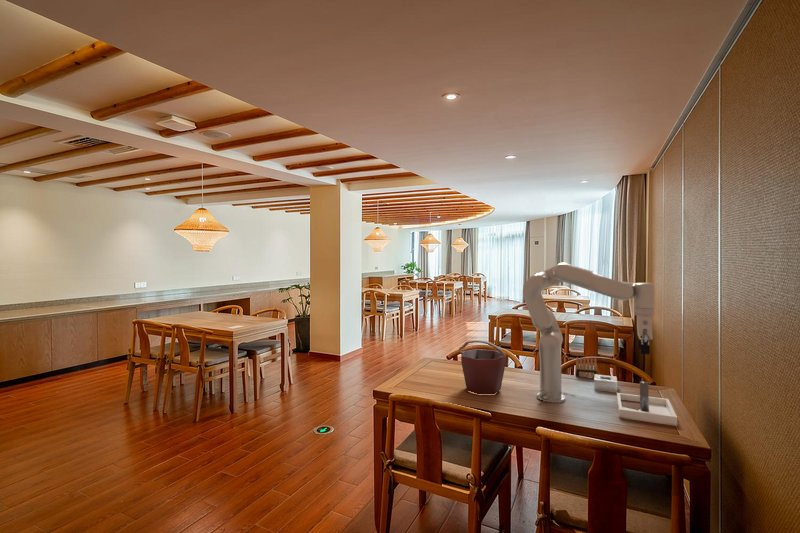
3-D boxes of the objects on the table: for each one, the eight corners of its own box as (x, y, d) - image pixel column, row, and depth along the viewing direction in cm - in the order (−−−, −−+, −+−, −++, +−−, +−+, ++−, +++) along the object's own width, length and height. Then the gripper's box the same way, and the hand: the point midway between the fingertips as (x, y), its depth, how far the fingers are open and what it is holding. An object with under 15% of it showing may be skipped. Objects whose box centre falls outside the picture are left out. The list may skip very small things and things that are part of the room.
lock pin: (647, 412, 167) (647, 384, 167) (639, 410, 169) (638, 382, 169) (649, 410, 169) (649, 382, 169) (641, 408, 171) (640, 380, 171)
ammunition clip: (575, 378, 217) (575, 356, 217) (575, 377, 219) (575, 355, 219) (597, 380, 213) (597, 358, 213) (597, 379, 215) (597, 357, 214)
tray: (677, 426, 155) (677, 417, 155) (619, 417, 164) (619, 409, 164) (668, 406, 174) (668, 398, 174) (616, 400, 183) (616, 392, 183)
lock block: (617, 394, 191) (617, 382, 191) (594, 391, 195) (594, 379, 195) (616, 388, 200) (616, 376, 200) (594, 385, 204) (594, 374, 204)
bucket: (450, 389, 203) (449, 341, 202) (477, 380, 217) (476, 335, 217) (489, 401, 184) (489, 348, 184) (516, 390, 199) (515, 341, 198)
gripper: (656, 314, 159) (656, 357, 159) (651, 309, 174) (651, 348, 175) (635, 314, 162) (635, 355, 163) (632, 308, 178) (632, 346, 178)
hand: (643, 351), depth 169 cm, fingers open, 9 cm apart
